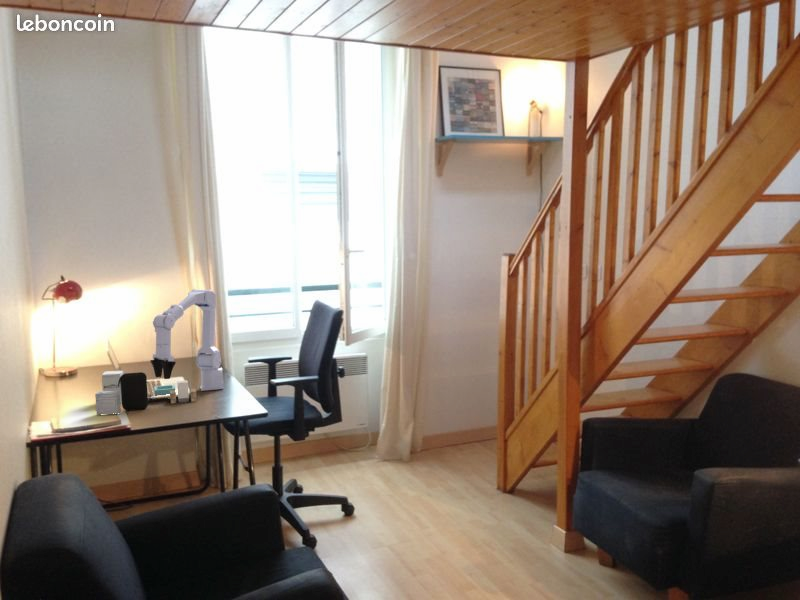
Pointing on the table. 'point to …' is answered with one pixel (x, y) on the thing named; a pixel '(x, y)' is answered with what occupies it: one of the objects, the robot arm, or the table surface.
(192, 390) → the wooden pieces
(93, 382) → the table surface
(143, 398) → the black rounded piece
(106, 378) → the supplement box
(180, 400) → the plug
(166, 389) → the port
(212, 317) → the robot arm
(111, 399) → the medicine box
